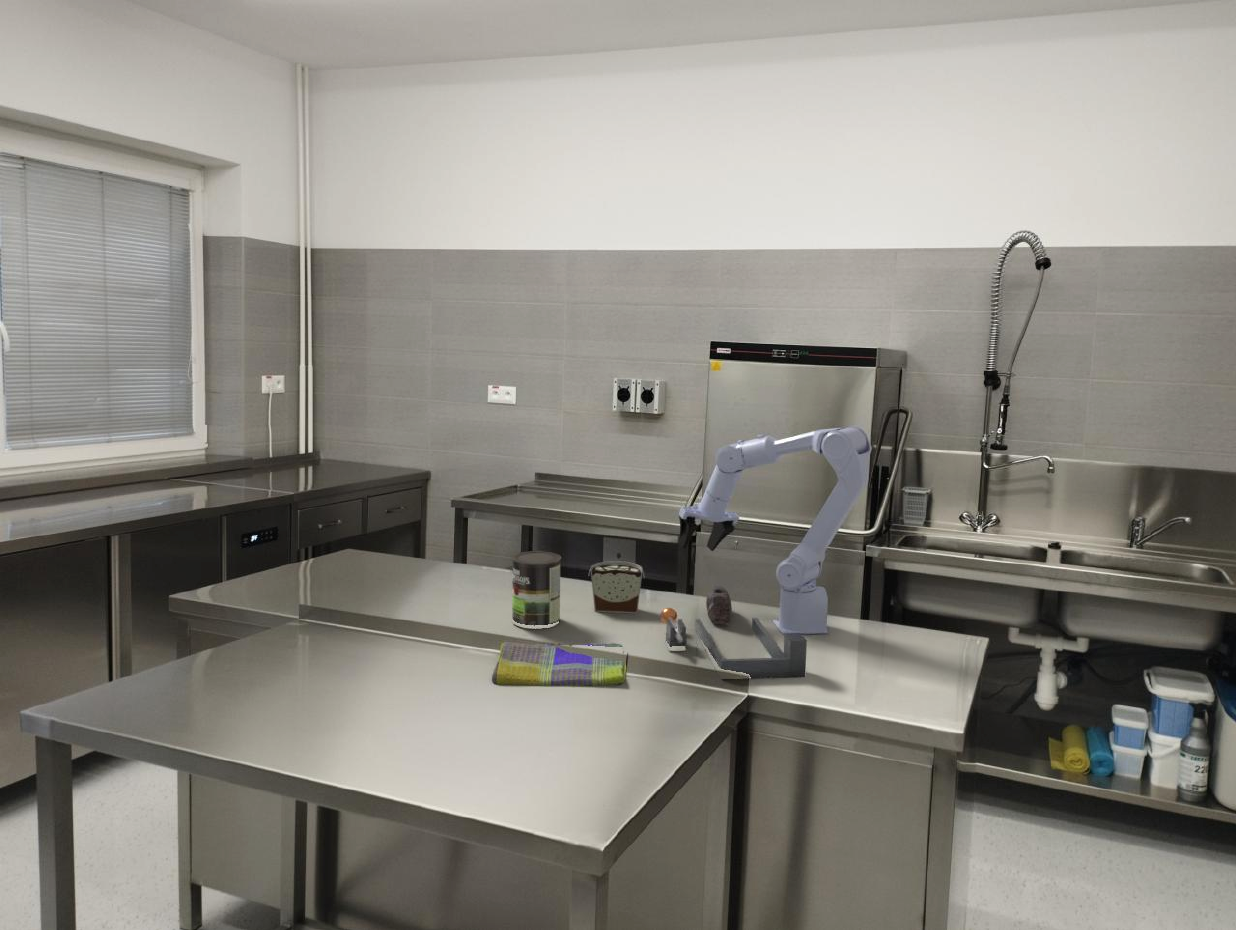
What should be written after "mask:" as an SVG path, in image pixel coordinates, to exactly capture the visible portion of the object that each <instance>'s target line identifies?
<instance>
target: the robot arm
mask: <svg viewBox="0 0 1236 930" xmlns="http://www.w3.org/2000/svg"><path fill="white" fill-rule="evenodd" d="M872 448H873V447H872V445H871V442H870V440H869V437H868V434H867V433H866V432H865V431H864V430H863V429H862V428H861V427H859V426H854V425H851V426H847V427H845V428H843V427H834V428H825V429H817V430H813V431H809V432H805V433H800V434H798V435H795V436H790V437H785V438H781V439H777V438H775V437H773V436H772V435H766V434H765V433H764V434H757V436H756V438H754V439H750V440H745V439H740V440H739V439H738V440H737V442H736V443H732V444H725V445H723V446H722V447H720V448H718V450H717V451H716V453H715V457H714V459H715V466H714V469H713V472H712V473H711V477H710V479H709V481H708V484H707V485H706V488H705V492H704V493H703V495H702V499H701V501H700V502H699V503H698V505H692V506H681V507H680V510H679V512H678V519H679V528H680V529H679V539H678V545H679V546H680V548H681V549H684V550H685V549H686V548H687V546H689V542H690V540H691V538H692V537H693V535H694V533H695V532H696V531H697V529H698V528H699V526H698V525H697V523H696V522H697V521H696V520H703V521H709V522H713V524H712V528H711V533H710V535H709V537H708V540H707V544H706V547H707V548H708V549H709V550H710V551H711V552H714V551H715V550H716V548H718V546H719V544H720V543H721V542H722V541H723V540H724V539H725V538H726V537H727V536H728V535H730V534H732V533H733V532H734V530H735V528H736V527H735V525H737V524H738V521H739V519H740V515H739V514H737V513H736V512H735V511H728V506H729V504H730V501H731V499H732V497H733V495H734V492H735V490H736V487H737V485H738V483H739V480H740V478H741V476H742V473H743V471H744V470H746V469H752V468H756V467H761V466H766V465H769V464H770V465H771V464H775V463H777V462H778V460H779V459H780V458H781V456H782V455H787V454H793V453H797V452H804V451H808V450H812V451H814V452H815V453H816V454H817V455H821V454H823V457H825V459H826V460H827V462H828V463H829V464H830V466H831V467H832V468H833V470H834V472H835V474H836V477H837V480H838V481H837V482H836V485H835V486H834V488H833V490H832V491H831V493H830V495H829V496H828V498H827V499H826V501H825V503H824V504H823V506H822V508H821V509H820V510H819V513H818V514H817V515H816V517H815V519H814V520H813V522H812V524H811V526H810V527H809V529H807V532H806V534H805V535H804V537H803V538H802V541H801V542H800V543H799V544H798V545H797V546H796V547H795V548H794V549H793V550H792V551H791V552H790V554H789V556H788V557H787V558H786V559H784V560H782V561H781V562H780V563H779V564H778V565H777V567H776V571H775V576H776V577H775V578H776V580H777V582H778V583H779V585H780V595H779V619H773V620H772V621H773V623H774V625H775V626H776V627H777V629H778V630H779V632H781V634H782V635H784V634H785V633H801V634H802V635H810V634H811V635H813V634H815V635H817V634H828V629H827V625H828V624H827V623H828V609H829V607H828V606H829V604H828V603H829V602H828V601H829V600H828V594H827V590H826V589H825V587H823V586H817V584H816V579H818V578H819V577H820V575H821V573H822V569H823V568H822V566H823V562H824V560H825V558H826V553H825V552H826V551H827V549H828V547H829V546H830V544H831V543H832V542H833V539H834V538H835V537H836V535H837V534H838V531H839V530H840V528H841V527H842V525H843V524H844V522H845V520H846V519H847V517H848V516H849V514H850V512H851V511H852V510H853V507H854V506H855V504H856V503H857V501H858V500H859V498H860V497H861V495H862V494H863V492H864V490H865V488H866V487H867V485H868V483H869V475H870V474H869V473H870V455H871V452H872V450H873V449H872Z"/></svg>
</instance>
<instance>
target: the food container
mask: <svg viewBox="0 0 1236 930" xmlns="http://www.w3.org/2000/svg"><path fill="white" fill-rule="evenodd" d="M587 576H588V577H591V587H592V588H591V589H592V599H593V607H594V612H598V613H599V612H600V613H620V614H638V612H639V611H638V610H639V601H640V594H641V585H642V578H643V579H645V577H646V576H645V572H644V570H643V567H642V565H639V564H637V563H634V562H629V561H621V560H620V561H617V560H616V561H615V560H613V561H612V560H611V561H603V562H597V563H595V564H593V565H591V566H590V569H589V571H588V575H587Z"/></svg>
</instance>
